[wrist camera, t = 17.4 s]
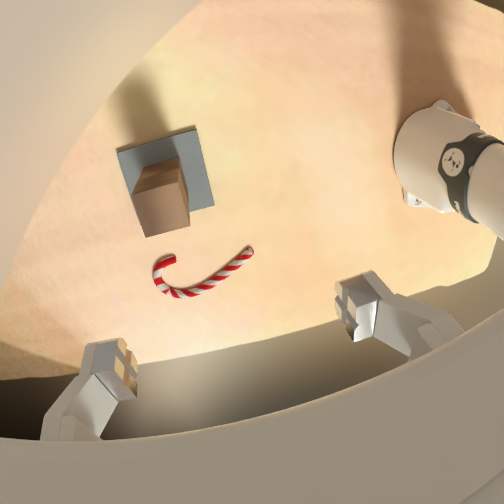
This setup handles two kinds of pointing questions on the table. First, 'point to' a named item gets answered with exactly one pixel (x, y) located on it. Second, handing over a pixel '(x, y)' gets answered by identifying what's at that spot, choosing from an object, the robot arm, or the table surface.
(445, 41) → the table surface
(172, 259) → the candy cane
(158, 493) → the robot arm
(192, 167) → the slate mat
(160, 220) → the walnut block
